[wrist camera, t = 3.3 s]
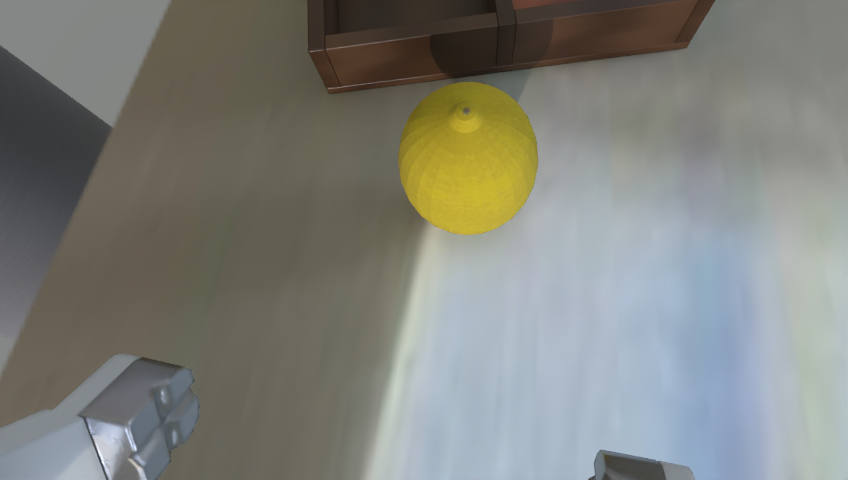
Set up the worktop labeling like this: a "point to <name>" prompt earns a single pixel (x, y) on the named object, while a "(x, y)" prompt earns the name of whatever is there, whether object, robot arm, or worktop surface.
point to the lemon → (468, 158)
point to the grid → (484, 36)
